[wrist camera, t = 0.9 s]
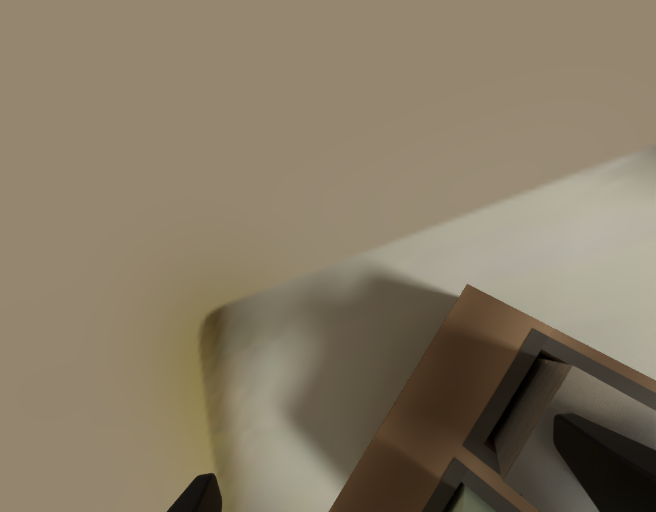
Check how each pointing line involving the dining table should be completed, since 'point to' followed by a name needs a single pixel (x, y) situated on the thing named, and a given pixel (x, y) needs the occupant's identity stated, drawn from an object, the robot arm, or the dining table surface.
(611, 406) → the steel peg
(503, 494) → the walnut block
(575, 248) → the dining table surface
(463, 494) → the sage peg
